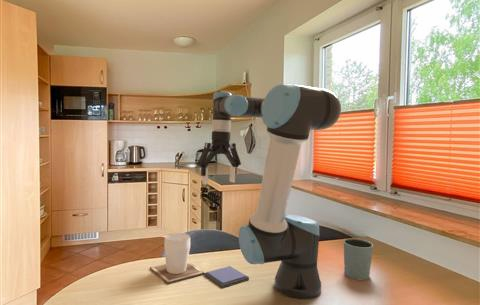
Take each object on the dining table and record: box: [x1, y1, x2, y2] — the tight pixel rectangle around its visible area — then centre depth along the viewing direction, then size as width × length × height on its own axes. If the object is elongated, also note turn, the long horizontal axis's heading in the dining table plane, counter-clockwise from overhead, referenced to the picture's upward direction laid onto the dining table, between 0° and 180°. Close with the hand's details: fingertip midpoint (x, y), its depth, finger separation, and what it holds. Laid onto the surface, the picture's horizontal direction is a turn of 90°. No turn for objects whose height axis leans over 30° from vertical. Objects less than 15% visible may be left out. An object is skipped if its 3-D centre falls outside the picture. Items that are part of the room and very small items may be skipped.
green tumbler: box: [343, 238, 374, 281], centre depth 121 cm, size 10×10×12 cm
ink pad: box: [203, 265, 250, 289], centre depth 114 cm, size 11×11×1 cm
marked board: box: [149, 261, 205, 285], centre depth 116 cm, size 14×14×1 cm
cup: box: [163, 232, 191, 274], centre depth 116 cm, size 9×9×12 cm
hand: (218, 183), depth 135 cm, fingers open, 13 cm apart
